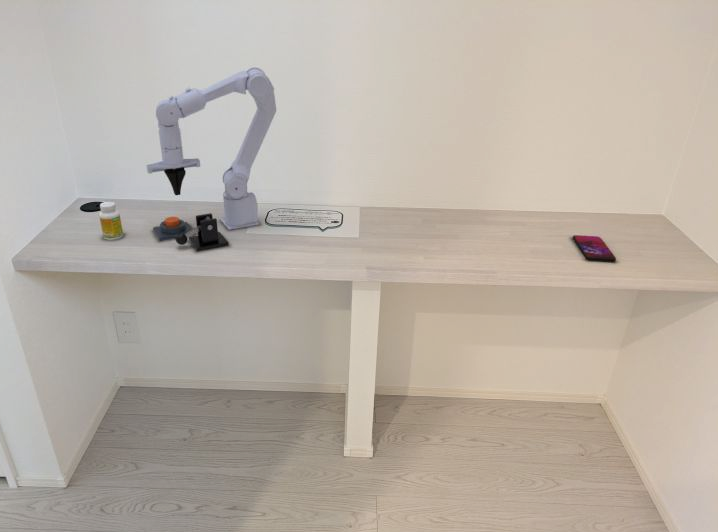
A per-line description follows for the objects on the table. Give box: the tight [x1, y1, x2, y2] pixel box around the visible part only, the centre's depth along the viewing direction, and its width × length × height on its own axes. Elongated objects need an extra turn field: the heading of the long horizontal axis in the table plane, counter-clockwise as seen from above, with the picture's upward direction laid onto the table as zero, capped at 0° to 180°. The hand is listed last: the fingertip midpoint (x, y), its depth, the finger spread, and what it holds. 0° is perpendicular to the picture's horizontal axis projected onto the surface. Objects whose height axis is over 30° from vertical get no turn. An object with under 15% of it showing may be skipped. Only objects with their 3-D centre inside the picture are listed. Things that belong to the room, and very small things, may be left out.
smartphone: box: [572, 234, 617, 262], centre depth 159 cm, size 8×1×15 cm
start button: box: [164, 216, 180, 227], centre depth 164 cm, size 4×4×2 cm
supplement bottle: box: [98, 201, 124, 241], centre depth 161 cm, size 5×5×10 cm
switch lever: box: [175, 216, 210, 246], centre depth 156 cm, size 11×3×3 cm, turn 116°
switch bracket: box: [188, 212, 230, 253], centre depth 158 cm, size 9×8×8 cm
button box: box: [152, 218, 193, 242], centre depth 165 cm, size 10×8×3 cm
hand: (177, 194), depth 164 cm, fingers closed
